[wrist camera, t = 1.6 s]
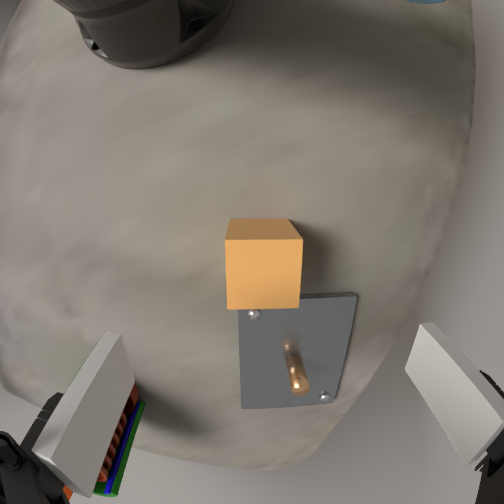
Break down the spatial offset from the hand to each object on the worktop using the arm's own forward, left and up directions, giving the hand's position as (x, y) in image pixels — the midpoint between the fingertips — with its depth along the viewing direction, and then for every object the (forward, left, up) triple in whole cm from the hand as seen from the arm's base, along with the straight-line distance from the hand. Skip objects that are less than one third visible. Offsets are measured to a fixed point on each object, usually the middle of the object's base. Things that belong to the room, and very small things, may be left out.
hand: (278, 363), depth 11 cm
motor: (+20, -20, -16) cm, 33 cm away
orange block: (0, 0, -16) cm, 16 cm away
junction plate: (+13, +4, -16) cm, 21 cm away
